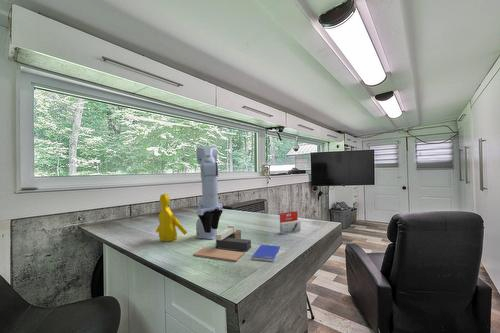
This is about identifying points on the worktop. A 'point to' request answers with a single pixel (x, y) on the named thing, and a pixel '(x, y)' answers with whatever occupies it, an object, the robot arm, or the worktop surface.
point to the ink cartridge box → (289, 223)
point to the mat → (219, 254)
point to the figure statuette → (167, 221)
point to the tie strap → (226, 232)
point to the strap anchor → (235, 234)
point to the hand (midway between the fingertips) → (211, 230)
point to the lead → (234, 244)
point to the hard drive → (266, 253)
